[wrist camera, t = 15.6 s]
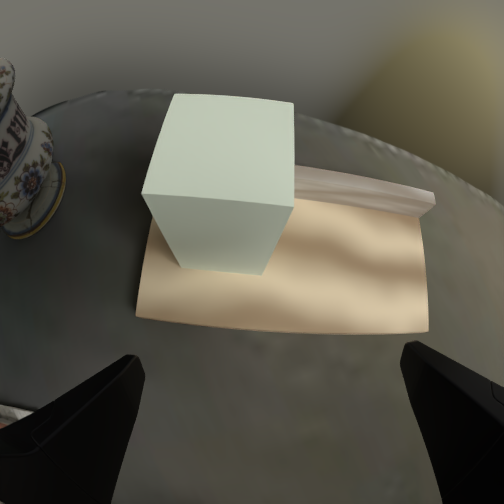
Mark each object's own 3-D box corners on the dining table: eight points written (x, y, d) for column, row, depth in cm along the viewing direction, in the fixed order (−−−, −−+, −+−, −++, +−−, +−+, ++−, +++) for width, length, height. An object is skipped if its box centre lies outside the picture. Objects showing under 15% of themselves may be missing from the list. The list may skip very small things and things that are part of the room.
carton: (261, 275, 21) (294, 207, 11) (181, 267, 21) (141, 193, 11) (266, 201, 23) (293, 100, 13) (193, 194, 23) (175, 91, 13)
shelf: (418, 332, 22) (449, 327, 18) (141, 317, 21) (121, 310, 17) (408, 210, 26) (432, 189, 22) (166, 180, 25) (156, 150, 21)
